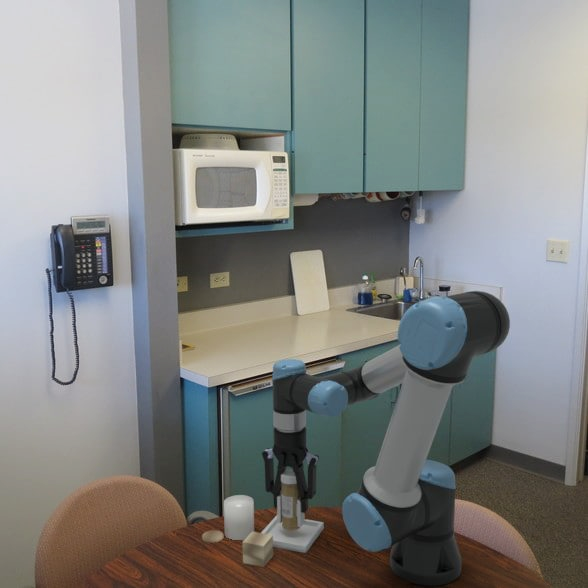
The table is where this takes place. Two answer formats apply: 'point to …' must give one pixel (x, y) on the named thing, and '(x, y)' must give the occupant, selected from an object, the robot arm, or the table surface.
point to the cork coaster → (212, 536)
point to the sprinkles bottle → (289, 500)
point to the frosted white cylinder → (238, 517)
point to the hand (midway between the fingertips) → (291, 522)
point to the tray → (294, 535)
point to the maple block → (258, 549)
